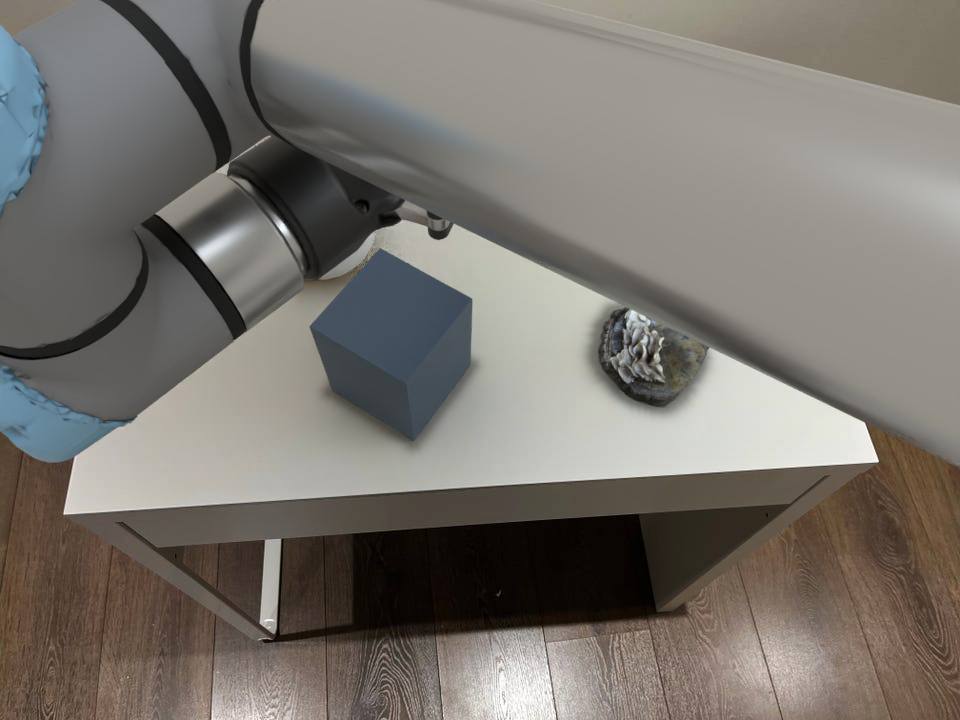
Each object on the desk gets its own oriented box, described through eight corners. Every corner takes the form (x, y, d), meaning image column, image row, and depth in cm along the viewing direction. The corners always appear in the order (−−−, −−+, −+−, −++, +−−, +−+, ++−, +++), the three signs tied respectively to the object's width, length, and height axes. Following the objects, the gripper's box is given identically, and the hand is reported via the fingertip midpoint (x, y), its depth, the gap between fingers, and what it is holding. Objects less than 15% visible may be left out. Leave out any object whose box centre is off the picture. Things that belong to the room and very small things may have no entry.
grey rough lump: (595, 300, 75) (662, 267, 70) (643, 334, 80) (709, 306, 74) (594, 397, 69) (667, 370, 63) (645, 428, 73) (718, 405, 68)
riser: (470, 364, 71) (472, 298, 61) (414, 441, 67) (406, 384, 56) (391, 318, 73) (379, 247, 63) (331, 390, 69) (308, 326, 59)
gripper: (200, 196, 43) (465, 27, 52) (373, 355, 38) (636, 138, 47) (154, 98, 37) (466, -77, 45) (356, 273, 32) (665, 39, 40)
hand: (552, 33), depth 46 cm, fingers closed on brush, 3 cm apart
